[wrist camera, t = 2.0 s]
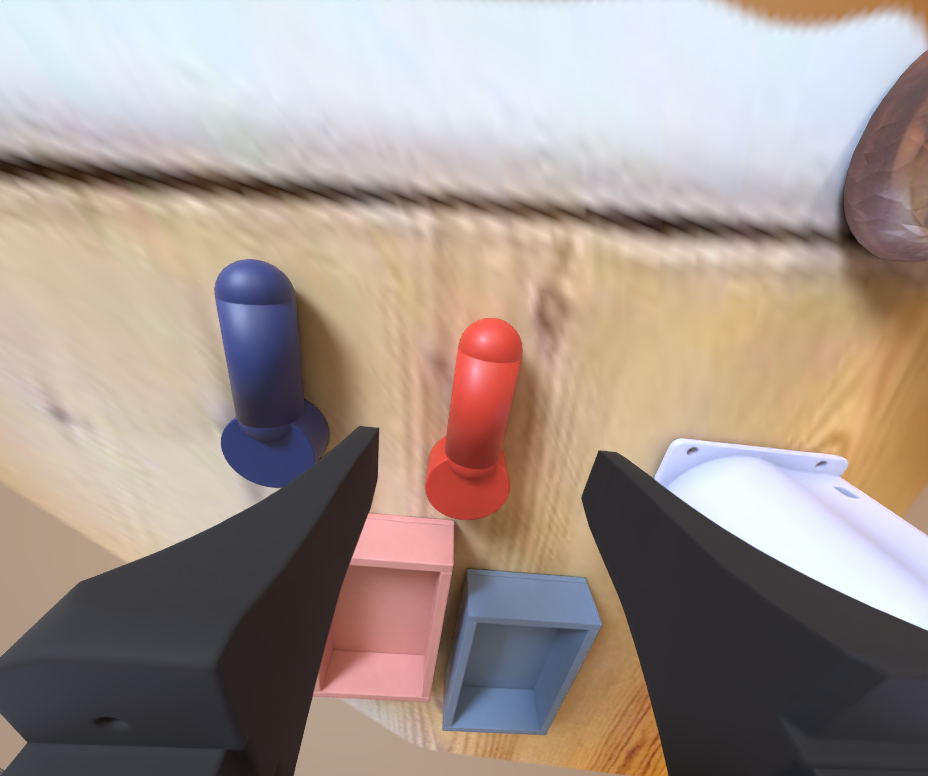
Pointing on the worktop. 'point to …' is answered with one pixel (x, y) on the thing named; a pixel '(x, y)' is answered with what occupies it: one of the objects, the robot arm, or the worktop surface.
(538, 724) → the blue bin
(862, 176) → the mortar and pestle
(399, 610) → the red bin
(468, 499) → the red rubber stamp
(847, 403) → the worktop surface
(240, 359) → the blue handle
